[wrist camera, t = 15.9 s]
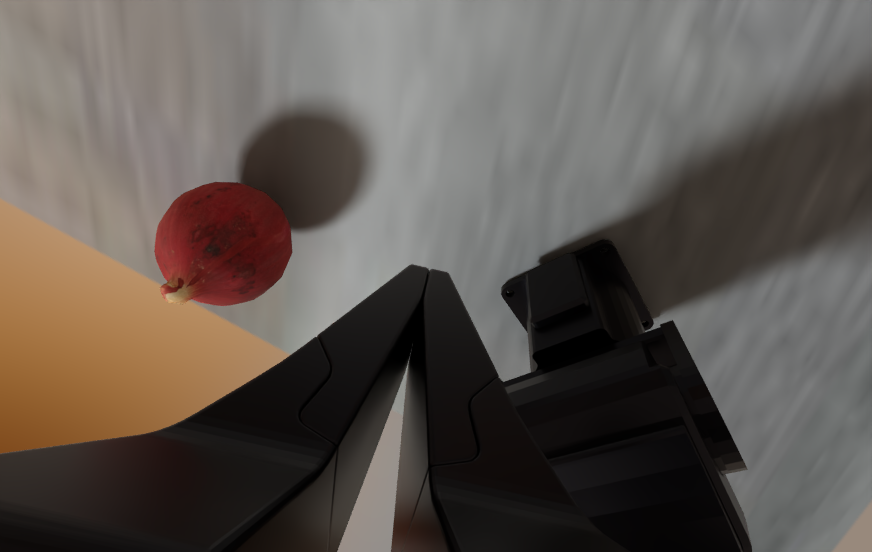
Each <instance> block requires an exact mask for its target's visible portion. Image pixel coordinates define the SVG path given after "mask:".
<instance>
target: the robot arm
mask: <svg viewBox="0 0 872 552" xmlns="http://www.w3.org/2000/svg"><path fill="white" fill-rule="evenodd" d="M603 248H609V249H608V251H606V252H601V250H602V249H603ZM428 273H429V274H428ZM508 290H512V291H514V292H513V293H507V291H508ZM501 295H502V297H503V299H504V300H505V302H506V303H507V304H508V306H509V307H510V309H511V310H512V311H513V313H514V314H515V316H516V317H517V318H518V320H519V321H520V323H521V324H522V325H523V327H524V328H525V330H526V331H527V333H528V343H529V355H530V368H531V373H528V374H525V375H522V376H520V377H517V378H514V379H511V380H508V381H505V382H503V381H501V379H500V378H498V377H499V376H498V373H497V371H496V369H495V367H494V365H493V363H492V361H491V359H490V357H489V355H488V353H487V351H486V349H485V347H484V345H483V343H482V340H481V338H480V336H479V334H478V332H477V330H476V328H475V326H474V324H473V322H472V320H471V318H470V316H469V314H468V312H467V310H466V308H465V306H464V304H463V301H462V299H461V297H460V295H459V293H458V291H457V289H456V287H455V285H454V283H453V281H452V279H451V277H450V275H449V273H447V272H444V271H439V270H435V269H431V270H430V271H429V270H428V268H426V267H421V266H417V265H409V266H408V267H407V268H405V269H404V270H403V271H401V272H400V273H399V274H397V275H396V276H395V277H393V278H392V279H391V280H390V281H388V282H387V283H386V284H384V285H383V286H382V287H380V288H379V289H378V290H376V291H375V292H374V293H372V294H371V295H370V296H369V297H367V298H366V299H365V300H363V301H362V302H361V303H359V304H358V305H357V306H355V307H354V308H353V309H352V310H350V311H349V312H348V313H346V314H345V315H344V316H342V317H341V318H340V319H338V320H337V321H336V322H334V323H333V324H332V325H331V326H329V327H328V328H327V329H325V330H324V331H323V332H321V333H320V334H319V335H318V336H317V337H315V338H313V339H312V340H311V341H309V342H308V343H307V344H305V345H304V346H303V347H301V348H300V349H299V350H297V351H296V352H294V353H293V354H292V355H290V356H289V357H287V358H286V359H284V360H283V361H282V362H280V363H279V364H277V365H275V366H274V367H272V368H270V369H269V370H267V371H266V372H264V373H262V374H261V375H259V376H258V377H256V378H254V379H253V380H251V381H249V382H248V383H246V384H244V385H243V386H241V387H239V388H238V389H236V390H234V391H232V392H231V393H229V394H227V395H226V396H224V397H222V398H221V399H219V400H217V401H215V402H214V403H212V404H210V405H209V406H207V407H205V408H204V409H202V410H200V411H199V412H197V413H195V414H193V415H192V416H190V417H188V418H186V419H185V420H183V421H181V422H178V423H176V424H174V425H171V426H169V427H166V428H163V429H161V430H158V431H154V432H151V433H146V434H141V435H134V436H127V437H119V438H112V439H105V440H97V441H90V442H83V443H75V444H68V445H60V446H53V447H46V448H39V449H32V450H24V451H16V452H9V453H2V454H0V552H337V550H338V548H339V545H340V542H341V540H342V537H343V535H344V532H345V529H346V527H347V524H348V521H349V519H350V516H351V514H352V511H353V508H354V505H355V503H356V500H357V498H358V495H359V492H360V489H361V487H362V485H363V481H364V479H365V477H366V474H367V471H368V468H369V466H370V463H371V461H372V458H373V455H374V453H375V450H376V447H377V445H378V442H379V440H380V437H381V434H382V432H383V429H384V426H385V423H386V421H387V418H388V416H389V413H390V411H391V408H392V405H393V403H394V400H395V397H396V395H397V392H398V390H399V387H400V384H401V382H402V379H403V376H404V374H405V371H406V368H407V365H408V371H407V381H406V392H405V403H404V414H403V425H402V436H401V447H400V459H399V470H398V480H397V491H396V503H395V514H394V525H393V535H392V546H391V552H752V546H751V541H750V537H749V532H748V528H747V523H746V519H745V516H744V513H743V511H742V509H741V507H740V505H739V503H738V500H737V498H736V496H735V494H734V492H733V490H732V488H731V486H730V483H729V481H728V479H727V477H726V475H725V474H728V473H733V472H738V471H743V470H748V469H747V467H746V465H745V463H744V461H743V459H742V457H741V455H740V453H739V451H738V449H737V447H736V445H735V443H734V441H733V438H732V436H731V434H730V432H729V430H728V428H727V426H726V424H725V422H724V420H723V418H722V416H721V414H720V412H719V410H718V408H717V406H716V404H715V402H714V400H713V398H712V396H711V394H710V392H709V390H708V388H707V386H706V384H705V382H704V380H703V378H702V376H701V374H700V372H699V371H698V369H697V367H696V365H695V363H694V361H693V359H692V357H691V355H690V353H689V351H688V349H687V347H686V345H685V343H684V341H683V339H682V337H681V335H680V333H679V331H678V329H677V327H676V325H675V324H674V322H673V320H672V321H669V322H666V323H663V324H660V326H661V327H659V328H657V329H654V330H651V331H648V332H645V331H646V330H648V329H650V328H651V327H652V326H653V324H654V322H653V319H652V317H651V315H650V313H649V311H648V309H647V307H646V305H645V303H644V302H643V300H642V298H641V296H640V294H639V292H638V290H637V288H636V286H635V284H634V282H633V280H632V278H631V277H630V275H629V273H628V271H627V269H626V267H625V265H624V263H623V261H622V259H621V257H620V255H619V254H618V252H617V250H616V248H615V246H614V244H613V243H612V242H611V241H609V240H601V241H598V242H596V243H594V244H592V245H590V246H587V247H585V248H583V249H581V250H578V251H576V252H574V253H572V254H570V253H568V254H566V255H564V256H561V257H559V258H557V259H555V260H553V261H550V262H548V263H546V264H544V265H542V266H539V267H537V268H535V269H533V270H531V271H528V272H527V274H526V275H523V276H521V277H519V278H517V279H514V280H512V281H510V282H508V283H506V284H504V285H503V286H502V289H501ZM642 321H646V322H644V323H641V322H642ZM412 344H413V345H412ZM410 353H411V354H410ZM409 357H410V359H409ZM408 361H409V364H408Z"/></svg>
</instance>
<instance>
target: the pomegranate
mask: <svg viewBox="0 0 872 552" xmlns="http://www.w3.org/2000/svg"><path fill="white" fill-rule="evenodd" d="M291 254H292V241H291V229H290V225H289V223H288V221H287V219H286V216H285V214H284V212H283V210H282V208H281V207H280V206H279V205H278V204H277V203H276V202H275V201H273V200H272V199H271V198H270V197H269V196H268V195H267V194H266V193H265V192H262V191H260V190H257V189H255V188H252V187H250V186H248V185H245V184H241V183H234V182H214V183H210V184H206V185H202V186H200V187H197V188H195V189H193V190H190V191H188V192H185V193H183V194H182V195H181V196H180V197H178V198H177V199H176V200H175V201H174V202H173V203H172V205H171V206H170V208H169V209H168V210H167V212H166V213H165V215H164V216H163V218H162V220H161V221H160V223H159V225H158V229H157V233H156V242H155V256H156V260H157V263H158V266H159V268H160V270H161V272H162V274H163V276H164V278H165V279H166V280H167V281H168V282H167V283H166V284H164V285H162V286H161V287H160V290H161V293H162V295H163V297H164V299H165V300H166V301H167V303H177V304H181V305H183V304H184V303H186V302H187V301H188V300H190V299H193V300H196V301H198V302H201V303H206V304H212V305H218V306H228V305H234V304H238V303H243V302H247V301H251V300H254V299H256V298H257V297H259V296H260V295H262V294H263V293H265V292H266V291H267V290H268V289H269V288H270V287H272V286H273V285H274V284H275V283H276V282H277V281H278V280H279V279H280V278H281V277H282V275H283V273H284V270H285V268H286V266H287V264H288V261H289V259H290V257H291Z"/></svg>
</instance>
